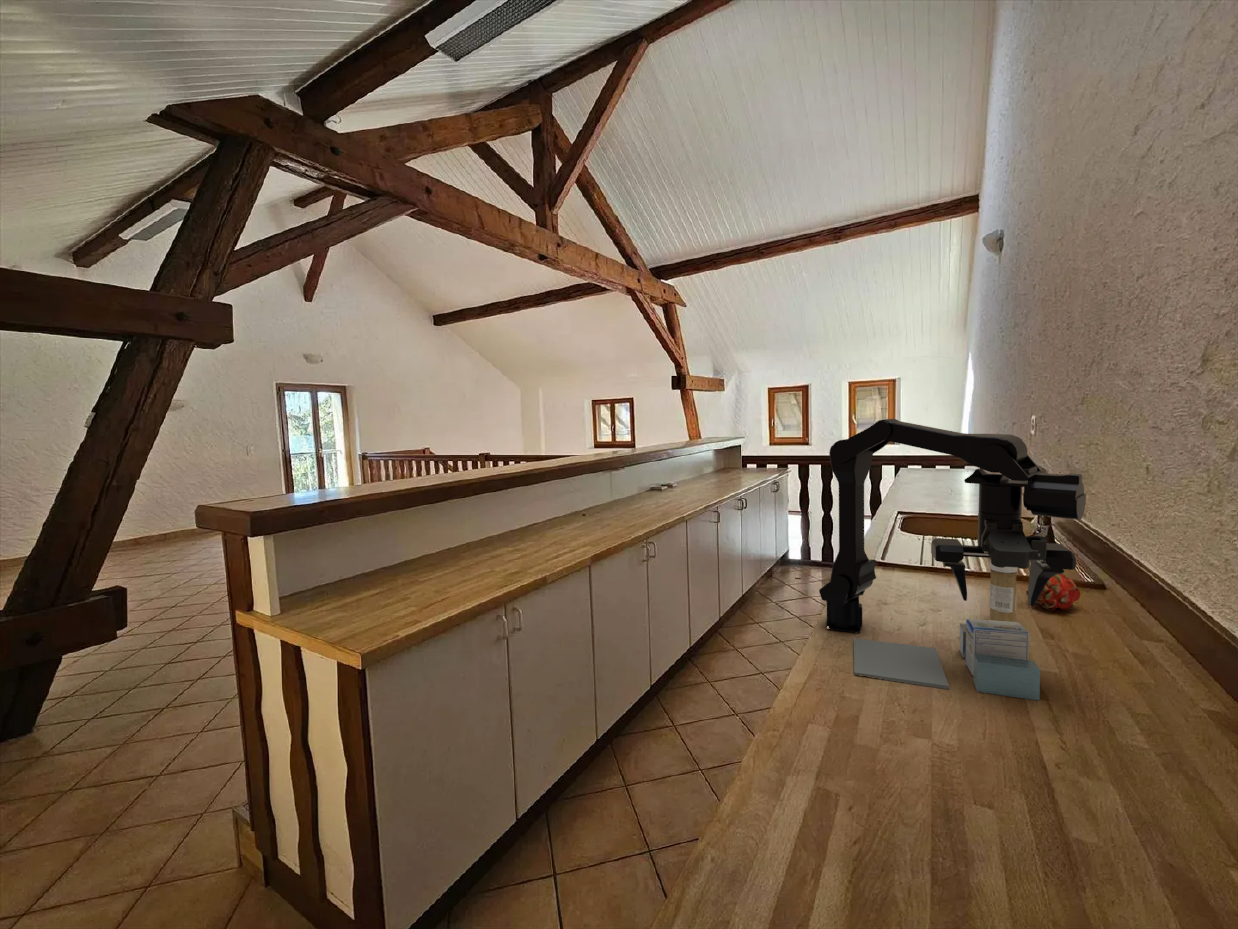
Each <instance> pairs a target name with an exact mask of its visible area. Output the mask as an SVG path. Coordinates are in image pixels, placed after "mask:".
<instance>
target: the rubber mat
mask: <svg viewBox="0 0 1238 929" xmlns="http://www.w3.org/2000/svg"><path fill="white" fill-rule="evenodd" d="M944 670H945V669H944V668H943V665H942V662H941V658H940V656H939V654H938V651H937V648H936V647H930V646H924V645H923V646H922V645H914V644H913V645H912V644H906V643H905V644H904V643H896V642H889V641H888V642H887V641H880V640H871V639H862V638H856V637H854V638H853V672H854V675H862V676H869V677H874V678H881V679H884V680H883V681H888V680H889V682H894V681H897V682H896V683H901V682H904V683H903V684H908V683H910V685H915V684H916V686H922V687H930V688H936V689H937V688H938V689H945V690H950V685H949V682H948V680H947V676H946V674H945V671H944ZM854 675H853V676H854ZM874 678H873V679H874ZM881 679H880V680H881Z"/></svg>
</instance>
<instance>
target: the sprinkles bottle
mask: <svg viewBox="0 0 1238 929" xmlns="http://www.w3.org/2000/svg"><path fill="white" fill-rule="evenodd" d="M1018 569H1019V568H1017V567H1004V568H1000V567H996V566H994V565H992V563H991V560H989V570H990V582H989V619H988V620H995V621H1008V622H1017V621H1016V616H1017V613H1016V612H1017V573H1018Z"/></svg>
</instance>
